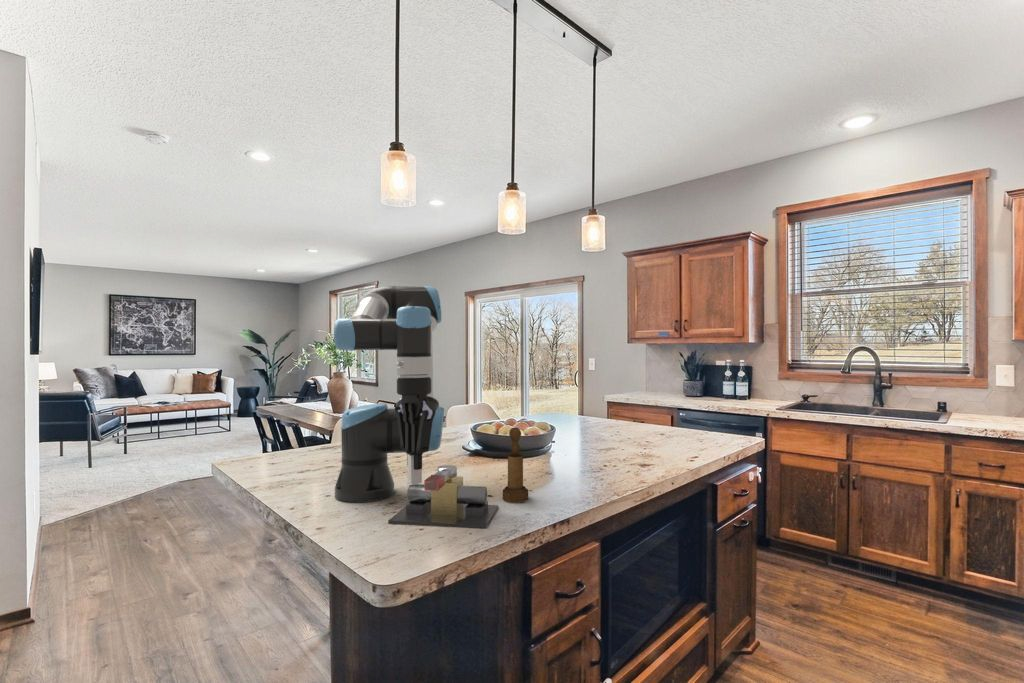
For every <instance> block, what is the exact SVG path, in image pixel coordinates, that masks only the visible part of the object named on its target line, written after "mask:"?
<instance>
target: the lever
mask: <svg viewBox="0 0 1024 683" xmlns="http://www.w3.org/2000/svg"><path fill="white" fill-rule="evenodd" d="M456 476H458V466H456V465H452V464H445V465H440V466H437V472H436V473H434V474H431V475H430V476H428V477H427V478H426V479H425V480H424V482H423V484H424V490H430V491H439V490H440V489H441V488H442V487H443V486H444V485H445V482H446V481H447V480H448V479H449V478H454V477H456Z"/></svg>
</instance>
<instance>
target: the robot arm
mask: <svg viewBox="0 0 1024 683" xmlns="http://www.w3.org/2000/svg"><path fill="white" fill-rule="evenodd" d="M441 322H442V307H441V299H440V293H439V291H438V289H437V288H436V287H434V286H426V285H422V286H408V285H406V286H405V285H404V286H403V285H385V286H380V287H376V288H374V289H371V290H369V291H367V292H365V293H364V294H362V295H360V297H359V298H358V300H357V302H356V305H355V311H354V313H353V314H352V316H351V318H350V317H346V318H338V319H336V320H335V322H334V324H333V342H334V346H335V348H336V349H337V350H339V351H349V352H352V351H396V363H395V364H396V374H397V375H398V376H399V377H398V378H396V393H397V395H400V396H401V397H400V398H399V399H398V400H397V402H396V404H395V405H396V406H394V408H389V406H388V405H387V403H384V402H382V403H371V404H370V403H369V404H365V405H359V406H354V407H351V408H348V409H346V410H345V411H344V412H343V413H342V415H341V425H340V431H341V432H340V433H341V467H340V470H339V473H338V476H337V480H336V483H335V487H334V498H335V500H338V501H341V502H349V503H362V502H365V503H366V502H373V501H378V500H382V499H385V498H388V497H390V496H393V494H394V493H395V482H394V479H393V476H392V472H391V470H390V467H389V464H388V454H395V453H396V454H398V453H399V454H402V453H405V454H406V460H407V461H406V462H407V463H406V465H407V466H406V467H407V485H415V484H422V483H423V481H422V480H423V479H422V478H423V475H422V474H423V473H422V472H423V471H422V470H423V454H424V453H428V452H434V451H437V450H439V448H440V447H441V444H442V438H443V428H444V417H445V408H444V407H441V406H440V402H439V400H438V399H437V398H435V396H434V368H433V367H434V366H433V365H434V362H433V361H434V360H433V331H435V330H436V329H437V326H438V324H441Z"/></svg>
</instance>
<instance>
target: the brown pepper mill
mask: <svg viewBox="0 0 1024 683" xmlns="http://www.w3.org/2000/svg"><path fill="white" fill-rule="evenodd" d="M508 435H509V438H510V439H511V441H512V443H511V445H510V450H511V453H509V454H507V485H506V486H505V487H504V488H502V500H503V501H504V502H506V503H514V504H516V503H517V504H519V503H525V502H527V501H528V500H529V489H528V488H527V487H526V486H525V485H524V455H523V454H521V453H520V448H521V447H520V446H521V445H519V440H520V438H521V436H522V431H521V429H520V428H519V427H511V429H509V431H508Z"/></svg>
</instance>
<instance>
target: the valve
mask: <svg viewBox="0 0 1024 683" xmlns="http://www.w3.org/2000/svg"><path fill="white" fill-rule="evenodd" d="M408 485H409V484H408ZM406 497H407V500H408V502H407V503H406V504H405V506H404V507H402V508H401V509H400V510H399V511H398V512H397V513H395V514H394V515H393V516H392V517H391V518H390V519H388V522H387V523H388V524H390V525H391V524H392V525H395V524H396V525H408V526H409V525H410V526H411V525H412V526H413V525H414V526H432V527H434V526H436V527H452V528H453V527H454V528H469V529H470V528H471V529H472V528H473V529H476V528H477V529H487V528H488V527H489V525H490V523H491V522H492V520H493V518H494V516H495V515H496V512H497V511H498V509H499V505H498V504H489V500H488V488H487V486H480V485H479V486H474V485H464V476H459V475H457V476H456V477H454V478H449V479H448V480H447V481H446V482H445V485H444V486H443V487H442V488H441V489H440V490H439V491H430V490H424V483H423V484H422V483H419V484H415V485H409V486H408V488H407V496H406Z"/></svg>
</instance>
